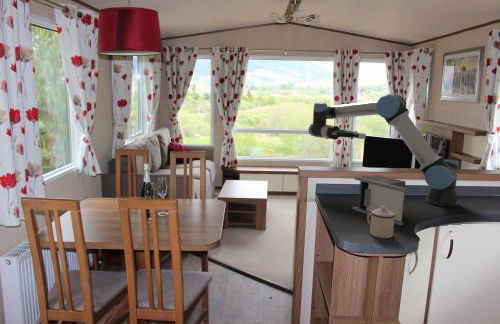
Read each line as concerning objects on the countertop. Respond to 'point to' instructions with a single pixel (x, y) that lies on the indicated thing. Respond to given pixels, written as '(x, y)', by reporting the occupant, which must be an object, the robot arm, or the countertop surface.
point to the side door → (384, 199)
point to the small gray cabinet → (381, 182)
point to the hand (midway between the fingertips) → (364, 136)
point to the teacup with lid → (381, 222)
